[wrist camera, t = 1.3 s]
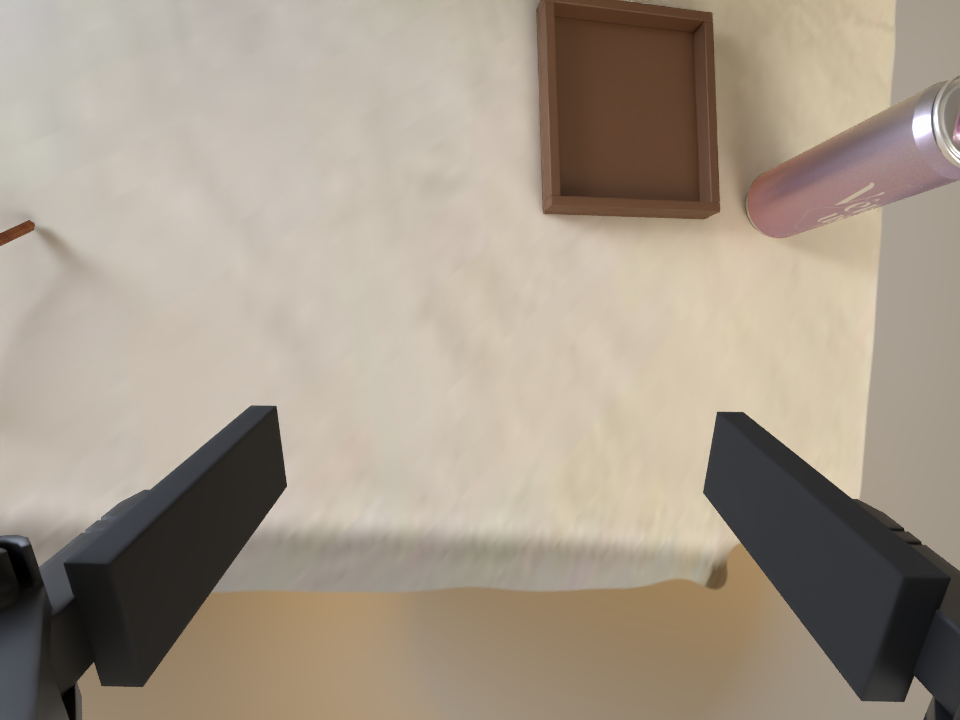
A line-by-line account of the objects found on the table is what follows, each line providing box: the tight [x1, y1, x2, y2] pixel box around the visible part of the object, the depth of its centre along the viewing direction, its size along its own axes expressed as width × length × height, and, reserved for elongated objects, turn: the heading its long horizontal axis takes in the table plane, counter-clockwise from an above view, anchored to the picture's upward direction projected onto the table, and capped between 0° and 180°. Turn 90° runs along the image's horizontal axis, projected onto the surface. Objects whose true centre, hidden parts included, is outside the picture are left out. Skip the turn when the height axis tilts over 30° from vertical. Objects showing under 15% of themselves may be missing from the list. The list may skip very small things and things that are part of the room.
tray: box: [537, 0, 720, 219], centre depth 39 cm, size 17×15×2 cm
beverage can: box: [746, 76, 960, 238], centre depth 35 cm, size 6×6×15 cm
